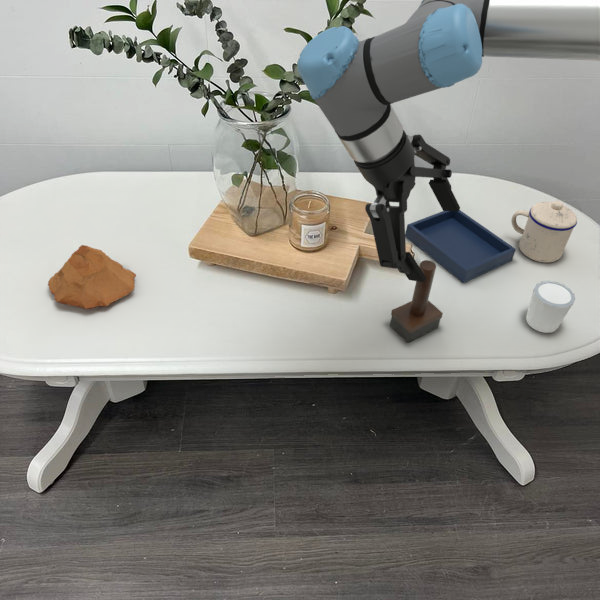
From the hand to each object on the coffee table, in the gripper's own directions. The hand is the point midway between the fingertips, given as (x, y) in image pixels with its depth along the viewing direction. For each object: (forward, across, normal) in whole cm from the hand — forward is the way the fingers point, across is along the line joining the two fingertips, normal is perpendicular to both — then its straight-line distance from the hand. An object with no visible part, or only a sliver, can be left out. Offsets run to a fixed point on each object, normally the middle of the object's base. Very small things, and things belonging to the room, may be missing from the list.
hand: (435, 243), depth 89 cm
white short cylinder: (+29, -5, +8) cm, 30 cm away
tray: (+25, -17, -12) cm, 33 cm away
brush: (+16, +7, -7) cm, 19 cm away
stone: (-14, +27, -55) cm, 63 cm away
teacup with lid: (+34, -25, -1) cm, 42 cm away
